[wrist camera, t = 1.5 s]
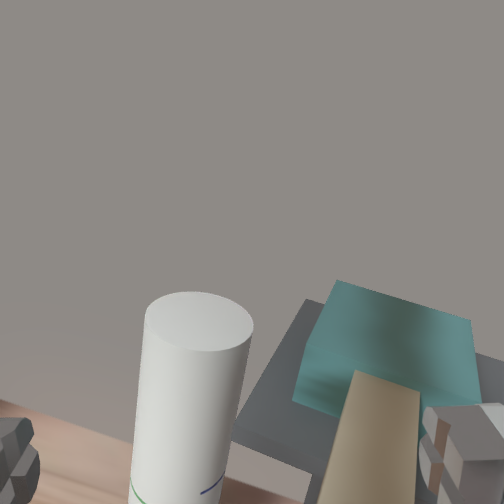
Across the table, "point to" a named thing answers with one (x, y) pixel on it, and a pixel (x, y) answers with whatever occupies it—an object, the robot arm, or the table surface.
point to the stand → (311, 420)
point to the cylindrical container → (187, 397)
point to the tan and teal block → (382, 388)
